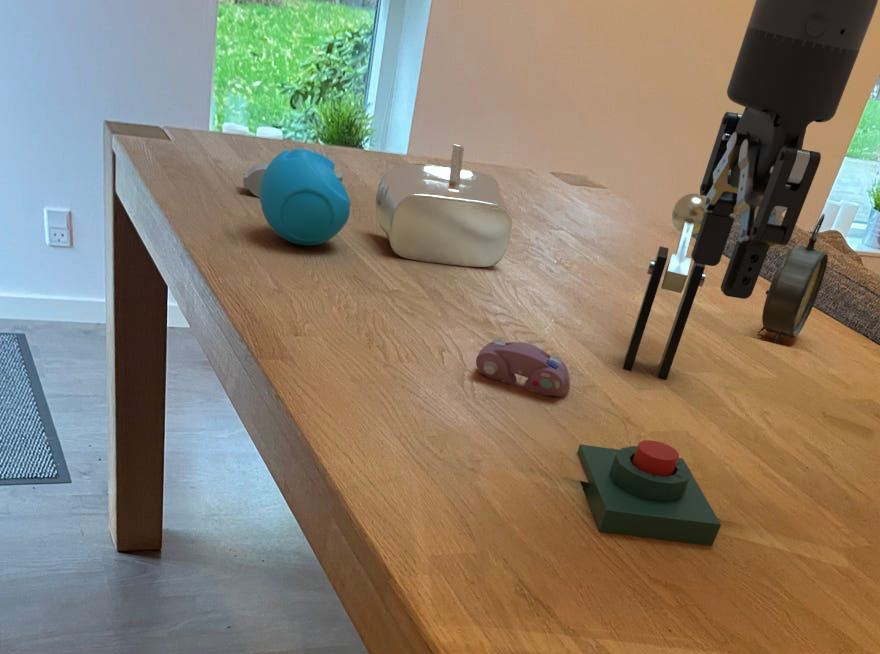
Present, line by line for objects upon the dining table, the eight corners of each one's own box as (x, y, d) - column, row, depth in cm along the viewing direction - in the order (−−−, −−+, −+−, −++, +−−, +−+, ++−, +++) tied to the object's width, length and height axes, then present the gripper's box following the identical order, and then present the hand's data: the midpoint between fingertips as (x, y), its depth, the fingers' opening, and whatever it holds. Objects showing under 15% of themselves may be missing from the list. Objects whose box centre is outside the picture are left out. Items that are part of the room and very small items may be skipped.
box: (573, 465, 92) (584, 425, 89) (675, 478, 93) (689, 440, 90) (598, 532, 82) (612, 490, 80) (712, 546, 83) (729, 505, 81)
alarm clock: (781, 355, 128) (834, 225, 119) (742, 341, 130) (791, 213, 120) (802, 337, 136) (853, 214, 126) (764, 324, 138) (812, 202, 128)
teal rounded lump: (359, 256, 132) (372, 163, 125) (287, 260, 126) (296, 162, 119) (311, 227, 139) (320, 138, 132) (240, 230, 133) (246, 136, 126)
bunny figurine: (243, 155, 150) (342, 157, 151) (245, 191, 153) (341, 193, 154) (242, 170, 142) (346, 172, 144) (244, 207, 145) (345, 209, 147)
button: (627, 455, 86) (633, 437, 85) (666, 461, 87) (673, 443, 86) (637, 475, 84) (643, 456, 83) (677, 480, 84) (684, 462, 83)
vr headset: (490, 248, 146) (513, 142, 137) (508, 274, 137) (534, 162, 128) (370, 232, 142) (386, 122, 133) (381, 257, 133) (398, 141, 124)
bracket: (607, 352, 118) (643, 233, 110) (681, 371, 117) (723, 252, 109) (598, 387, 108) (637, 260, 100) (679, 408, 107) (724, 281, 99)
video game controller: (468, 396, 104) (471, 348, 98) (484, 366, 106) (488, 317, 100) (557, 424, 102) (566, 377, 96) (571, 393, 104) (581, 345, 98)
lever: (670, 213, 113) (681, 181, 109) (706, 222, 113) (718, 190, 109) (649, 292, 107) (660, 261, 103) (687, 302, 106) (699, 271, 103)
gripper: (904, 57, 61) (796, 319, 70) (817, 30, 72) (735, 258, 82) (790, 35, 60) (697, 303, 70) (720, 10, 71) (649, 244, 81)
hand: (718, 278), depth 76 cm, fingers open, 7 cm apart
